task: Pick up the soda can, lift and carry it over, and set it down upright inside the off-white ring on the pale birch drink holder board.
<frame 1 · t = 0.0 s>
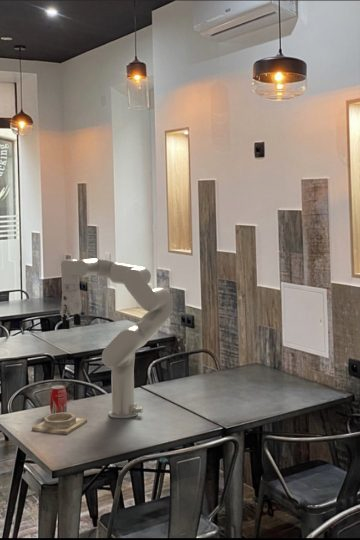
hand: (71, 326, 286), 37 cm above the table, tool pointing down, fingers open, 9 cm apart
drink holder: (60, 426, 266), on the table
soda can: (58, 414, 283), on the table
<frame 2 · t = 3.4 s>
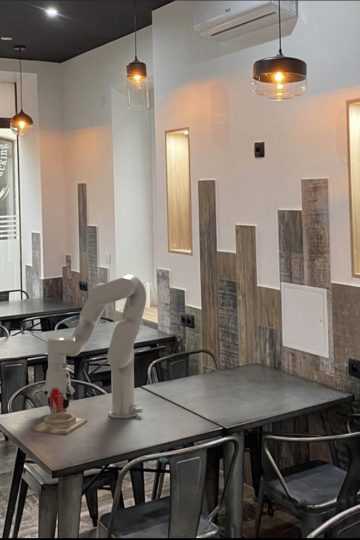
hand: (58, 406, 282), 3 cm above the table, tool pointing down, fingers closed on soda can, 6 cm apart
soda can: (58, 414, 283), on the table, touching gripper
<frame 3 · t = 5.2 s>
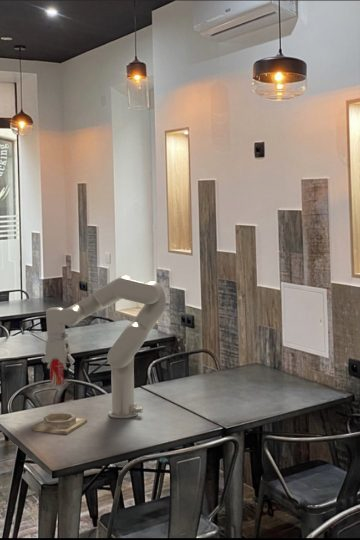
hand: (59, 377, 281), 16 cm above the table, tool pointing down, fingers closed on soda can, 6 cm apart
soda can: (58, 385, 282), point 13 cm above the table, touching gripper
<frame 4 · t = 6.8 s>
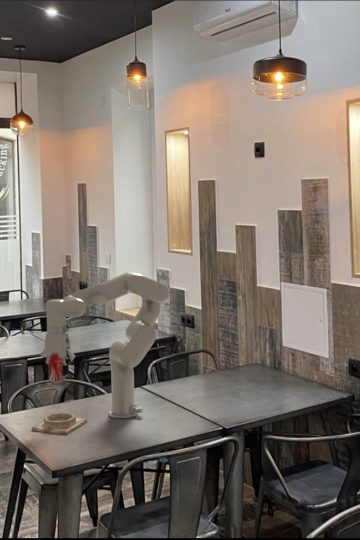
hand: (58, 373, 265), 22 cm above the table, tool pointing down, fingers closed on soda can, 6 cm apart
soda can: (57, 381, 266), point 18 cm above the table, touching gripper
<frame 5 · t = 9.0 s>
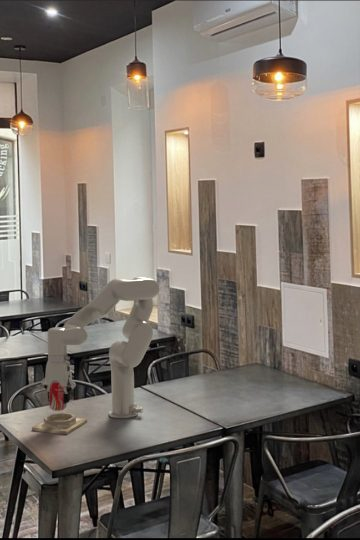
hand: (58, 401, 265), 10 cm above the table, tool pointing down, fingers closed on soda can, 6 cm apart
soda can: (57, 409, 266), point 7 cm above the table, touching gripper
when the fingers open (6 cm above the table, at t = 10.5 s): soda can drops 1 cm, resting on drink holder.
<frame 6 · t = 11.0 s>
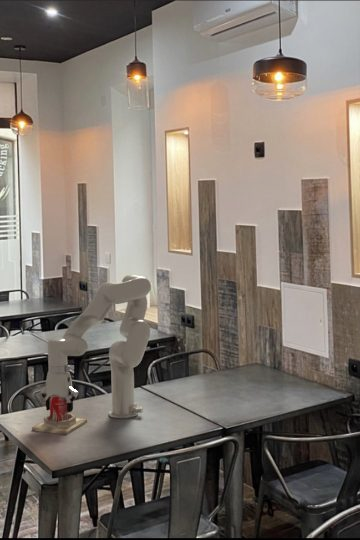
hand: (59, 410, 266), 7 cm above the table, tool pointing down, fingers open, 9 cm apart
soda can: (59, 423, 267), point 1 cm above the table, touching drink holder
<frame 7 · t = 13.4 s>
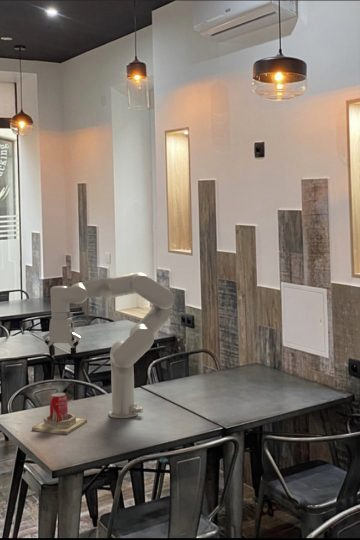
hand: (62, 356, 274), 27 cm above the table, tool pointing down, fingers open, 9 cm apart
nothing on the table moved.
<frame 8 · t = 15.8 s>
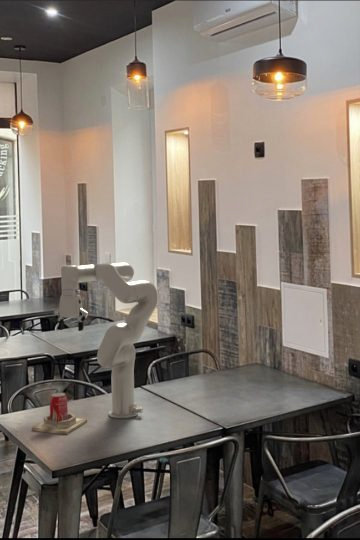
hand: (71, 329, 297), 33 cm above the table, tool pointing down, fingers open, 9 cm apart
nothing on the table moved.
at the end: soda can 0.4 cm off-centre on the drink holder, point 1.0 cm above the drink holder's base; soda can tilted 0°; the gripper is holding nothing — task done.
